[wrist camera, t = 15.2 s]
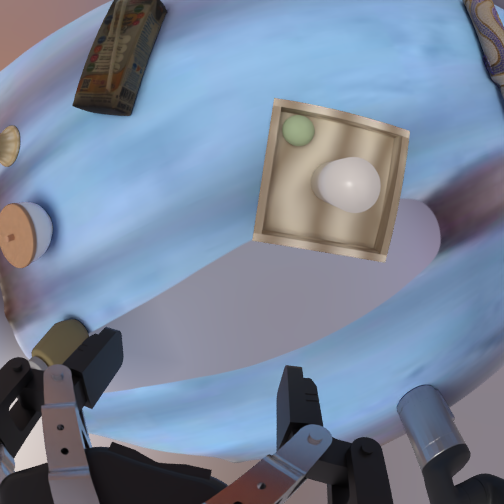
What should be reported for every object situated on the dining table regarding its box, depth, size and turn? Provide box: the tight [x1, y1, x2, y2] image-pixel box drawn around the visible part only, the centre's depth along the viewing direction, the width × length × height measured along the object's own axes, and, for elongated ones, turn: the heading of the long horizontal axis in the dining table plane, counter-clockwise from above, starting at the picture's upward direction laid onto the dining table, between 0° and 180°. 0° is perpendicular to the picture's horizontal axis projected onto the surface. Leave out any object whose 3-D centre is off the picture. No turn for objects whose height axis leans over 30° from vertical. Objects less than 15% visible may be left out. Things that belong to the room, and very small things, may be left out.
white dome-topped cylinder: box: [311, 157, 381, 213], centre depth 31 cm, size 5×5×11 cm
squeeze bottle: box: [28, 319, 89, 371], centre depth 38 cm, size 8×8×18 cm
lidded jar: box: [0, 202, 53, 268], centre depth 37 cm, size 11×11×9 cm
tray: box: [253, 98, 410, 262], centre depth 35 cm, size 18×18×4 cm
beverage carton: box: [73, 0, 167, 116], centre depth 30 cm, size 8×19×7 cm, turn 165°
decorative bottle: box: [463, 0, 504, 99], centre depth 24 cm, size 26×8×7 cm, turn 8°
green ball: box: [282, 115, 315, 146], centre depth 33 cm, size 4×4×4 cm
